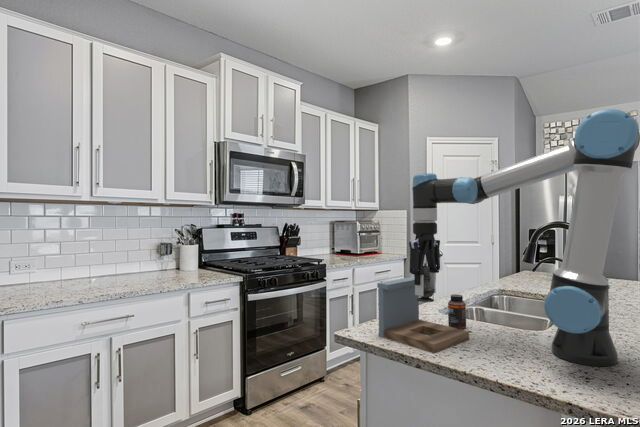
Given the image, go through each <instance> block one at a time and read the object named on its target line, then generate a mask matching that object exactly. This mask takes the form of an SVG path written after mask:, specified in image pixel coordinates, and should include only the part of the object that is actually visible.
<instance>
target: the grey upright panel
mask: <svg viewBox="0 0 640 427" xmlns="http://www.w3.org/2000/svg"><path fill="white" fill-rule="evenodd" d="M414 282H415V281H414V276H409V277H405V278H399V279H392V280H387V281H382V282H377V283H376V284H377V285H376V287H377V289H378V291H377V292H378V294H377V295H378V336H379V337H381V338H383V339H385V338H384V330H385V329H388V328H392V327H395V326H399V325H402V324H405V323H409V322H412V321H416V320H420V313H419V312H420V304H419V303H420V301H417V299H418V298H420V296H419V295H415V284H414Z"/></svg>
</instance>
